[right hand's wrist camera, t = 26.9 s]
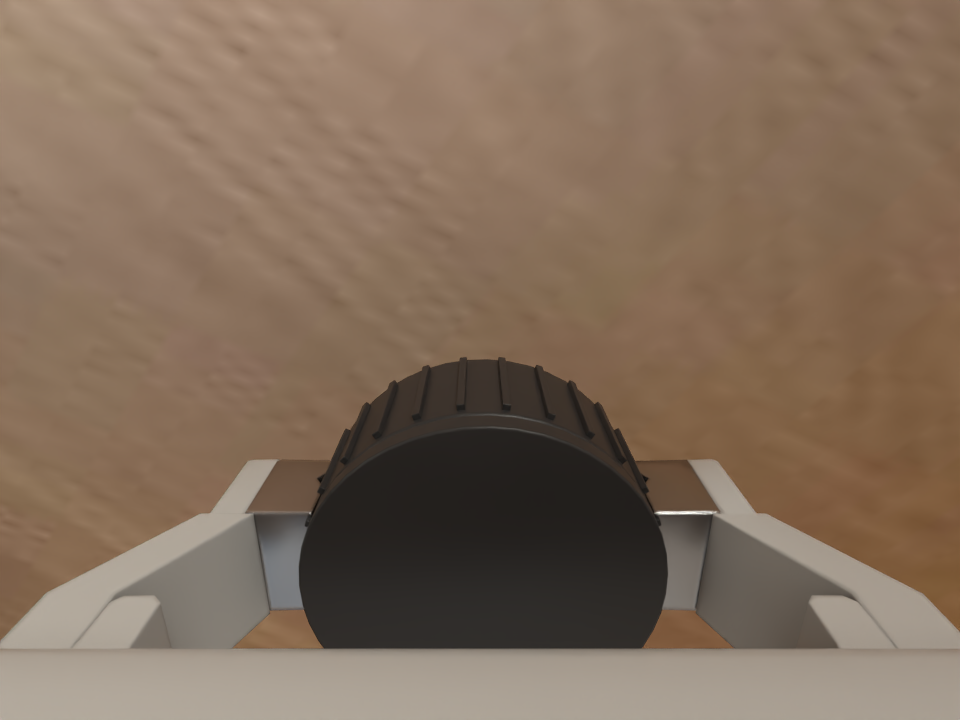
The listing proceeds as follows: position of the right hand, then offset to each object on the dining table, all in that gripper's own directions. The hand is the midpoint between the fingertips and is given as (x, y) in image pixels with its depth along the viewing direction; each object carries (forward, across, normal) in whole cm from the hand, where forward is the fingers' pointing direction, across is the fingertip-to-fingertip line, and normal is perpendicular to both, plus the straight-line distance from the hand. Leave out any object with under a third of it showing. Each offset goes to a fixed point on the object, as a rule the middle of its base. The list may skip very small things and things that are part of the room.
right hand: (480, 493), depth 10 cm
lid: (-2, 0, 0) cm, 2 cm away
